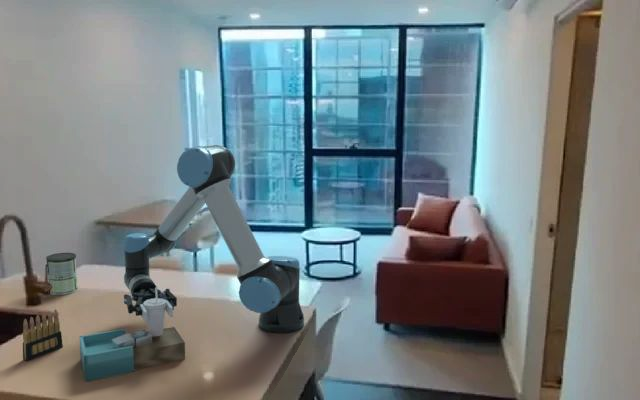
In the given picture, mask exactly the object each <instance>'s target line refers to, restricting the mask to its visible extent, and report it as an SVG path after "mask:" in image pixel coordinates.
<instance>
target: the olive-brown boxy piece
mask: <svg viewBox="0 0 640 400" xmlns="http://www.w3.org/2000/svg"><path fill="white" fill-rule="evenodd" d="M133 356H134V371H135V370H139V369H144V368H149V367H153V366H159V365H162V364H168V363H172V362H177V361H181V360H186V342H185V340H184V339H183V337H182V336H181V335H180V332H178V330H177V328H176V327H175V326H172V327H167V328H163V334H162V335H160V336H155V337H154V336H152V343H150V344H147V345H143V346H140V347H137V348H136V347H133Z"/></svg>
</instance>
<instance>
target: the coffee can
mask: <svg viewBox="0 0 640 400" xmlns="http://www.w3.org/2000/svg"><path fill="white" fill-rule="evenodd" d="M76 258H77V254H76V253H73V252H57V253H53V254H50V255H47V256H46V257H45V259H46V267H48V271H47V281H48V280H49V282H50V283H51V284H52V286H53V290H52V291H51V293H50V294H49V295H52V296H65V295H70V294H73V293H75V292H78V289H79V288H78V276H77V275H78V273H77V259H76Z"/></svg>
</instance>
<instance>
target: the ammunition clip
mask: <svg viewBox="0 0 640 400" xmlns="http://www.w3.org/2000/svg"><path fill="white" fill-rule="evenodd" d="M60 324H61V323H60V318H59V312H58V310H57V309H56V308H55V309H54V311H53V315H52V312H51V311H50V310H49V311H48V315H47V317H46V314H45V312H42V315H41V318H40V316H39V315H38V314H36V317H35V321H34V317H33V316H30V319H29V323H28V321H27V319H26V318H24V319H23V326H22V327H23V328H22V330H23V332H22V339H23V340H22V360H23V361H25V362H29V361H31V360H34V359H37V358H40V357H42V356H44V355H47V354H50V353H52V352H55V351H57V350H60V349H62V348H63V347H64V345H63V335H62V331H61V325H60Z"/></svg>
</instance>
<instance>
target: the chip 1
mask: <svg viewBox="0 0 640 400" xmlns="http://www.w3.org/2000/svg"><path fill="white" fill-rule="evenodd" d="M129 334H130V333H126V334H124V335H122V336H119V337H117V338H114V339H112V345H113V348H114V349H118V348H123V347H128V346H133V347H135V341H134V338H133V337H132V336H130V335H129Z"/></svg>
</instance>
